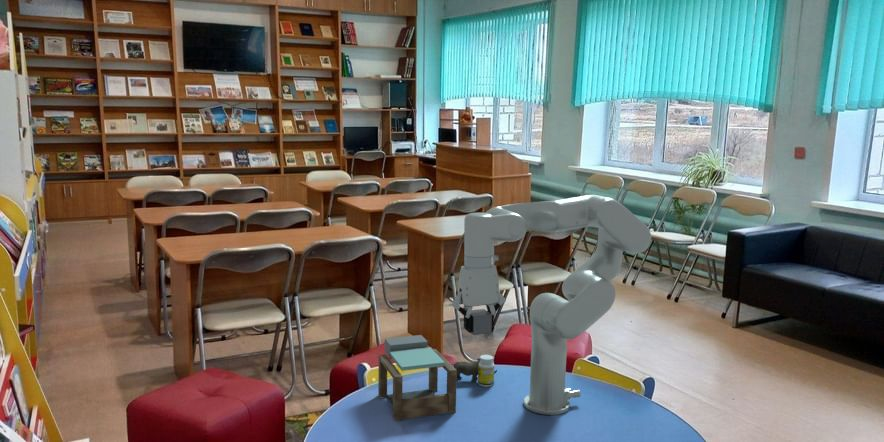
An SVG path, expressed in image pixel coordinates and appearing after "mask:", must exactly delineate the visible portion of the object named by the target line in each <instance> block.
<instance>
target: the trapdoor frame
mask: <svg viewBox="0 0 884 442" xmlns="http://www.w3.org/2000/svg"><path fill="white" fill-rule="evenodd" d="M432 350H433V351H434V352H435V353H436V354H437V355H438V356H439V357H440V358H441V359H442V360H443V361H444V362H445V366H441V367H442V368H443V369H444V370H445V372H446V393H441V394H435V393H434V392H437V391H438V379H439V378H438V377H439V375H438V374H439V370H438V369H439V367H431V368H428V389H423V390H415V391H414V390H413V391H408V392H407V391H405V392H403V377H404V376H403V375H402V374H401V372H400V371H399V370H398V368H397V367H396V366H395V365H394V363H393V362H392V361H391V359H390V358H389V357H388V355H387V354H386V353H384V354H378V377H377V378H378V380H377V381H378V390H377V391H378V393H377V394H378V397H379V398H380V399H383V398H387V399H388V400H389V402H390V403H391V405H392V419H393V420H394V422H399V421H403V420H406V419H407V420H408V419H413V418H421V417H429V416H435V415H443V414H454V413H457V412H456V411H457V382H458V379H457V370H456V369H455V368H454V365H453V364H451V362H449V360H447V359H446V357H444V355H442V354H441V353H440V351H439V350H437V348H432ZM388 373H389V374H390V376H391V378H392V393H391V394H388ZM456 381H457V382H456Z"/></svg>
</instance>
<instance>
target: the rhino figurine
mask: <svg viewBox="0 0 884 442" xmlns="http://www.w3.org/2000/svg"><path fill="white" fill-rule="evenodd" d="M479 362H480V360H479V361H473V362H467V361H457V362H455V363H454V365H453V367H454V368H455V369H456V370H457V381H456V383H457V382H458V380H462V376H461V374H462V375H463V376H466V377H469V376H471V382H472V383H477V380H478V365H479ZM497 372H498V369H496V370H494V375H495V374H497Z"/></svg>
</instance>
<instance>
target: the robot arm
mask: <svg viewBox="0 0 884 442" xmlns="http://www.w3.org/2000/svg"><path fill="white" fill-rule="evenodd" d="M463 223H464V226H463V227H464V233H463V234H464V238H463V239H464V241H463V242H464V246H463V247H464V249H463V250H464V254H463V255H464V256H463V257H464V259H463V261H464V263H463V264H464V265H462V266H460V270H459V275H458V276H459V277H458V284H457V295H456V297H455V298H454V299H453V301H452V303H451V304H450V306H452V307H453V308H454V309H456V310H457V311H458V312H459V313H461V315H462V316H463V328H464V329H465V331H466V332H467V333H469V334H471V332H472V318H471V317H470V315H471V311H472V310H473V308H474V307H481V306H485V307H486V311H488V312H489V313H491V314H492V327H493V326H494V323H495V322H494V321H495V320H494V319H495V318H494V317H495V315H496V313H497V311H498V310H499V309H500V308H501V306H502V305H503V304H505V302H506V301H507V299H506V298H505V296H504V295H503V294H502V293H501V292H500V285H499V276H498V275H499V274H498V270H497V266H496V265H495V262H496V261H499V255H497V254H496V255H495V242H508V243H510V242H517V241H519V240H521V239H522V238H524V236H525V235H526V233H527V231H535V232H542V233H553V234H555V233H561V232H567V231H571V230H573V231H574V230H578V229H583V228H588V227H589V228H590V227H591V228H592V227H593V228H597V229H598V234H597V245H596V249H595V251H594V253H593V255H591V257H589V258H588V259H587V260H585V262H584V263H581V265H580V266H579V267H577V268H576V269H575V270H574V271H573V272H571V273H569V275H568V276H567V277H566V278H565V279H564V280H563V283H562V285H561V291H562V294H563V296H564V297H565V298H564V297H562V296H560V295H557V294H555V293H551V292H544V293H540V294H538V295H537V296H535V298H534V299H533V300H532V302H531V305H530V307H529V320H530V322H529V323H530V329H531V330H530V331H531V349H530V350H531V351H530V352H531V354H530V375H529V376H530V377H529V394H527V395H526V396H525V397H524V398H523V405H524V407H525V408H526V409H527V410H529V411H530V412H532V413H536V414H539V415H548V416H550V415H551V416H555V415H562V414H563V413H564V414H565V413H566V412H568V411H569V410H570V409H571V408H570V405H571V404H570V401H569V400H571V399H572V398H573V399H574V398H580V397H581V391H580V389H575V390H574V389H573V390H572V388H570V387H568V388H566V375H567V374H566V371H567V367H566V366H567V353H568V341H567V340H572V339H576V338H577V337H579V336H581V335H582V334H583V333H585V332H586V331H587V330H588V329H590V328H591V327H592V325H594V324H596V323H597V321H599V320H600V319H601V318H602V317H603V316H605V314H606V313H608V312H609V311H610V310H611V308H612V306H613V304H614V303H615V299H616V295H617V294H616V289H615V286H614V284H613V283H612V281H613V280H614V279H615V278H616V277H617V276H618V275H619V273H620V271H621V269H622V264H623V263H622V262H623V252H626V253H628V254H635V255H636V254H642V253H644V252H645V251H647V249H648V248H649V247H650V245H651V242H652V233H651V231H650V228H649V227H648V226H647V224H646V223H644V222H643V221H642V220H641V219H640V218H638V216H637V215H636V214H634V213H633V212H632V211H631V210H629V208H627V207H626V206H624V204H622V203H621V202H619V201H618V200H616V199H614V198H612V197H609V196H608V197H607V196H602V195H597V194H585V195H580V196H574V197H568V198H567V197H566V198H561V199H555V200H554V199H553V200H545V201H533V202H520V203H512V204H510V203H509V204H504V205H500V206H498V205H497V206H494V207H492V208H490V209H488V210H486V212H470V213H467V214H466V215H465V217H464V222H463ZM460 304H463V307H462V306H461V305H460Z"/></svg>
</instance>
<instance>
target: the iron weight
mask: <svg viewBox="0 0 884 442" xmlns="http://www.w3.org/2000/svg"><path fill="white" fill-rule="evenodd" d="M470 317H471V318H472V332H471V333H470V334H471V335H472V336H478V335H486V334H492V333H493V332H492V331H493V326H492V314H491V313H489V312H488V311H487V309H485V308H480V309H472V311H471V315H470Z"/></svg>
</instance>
